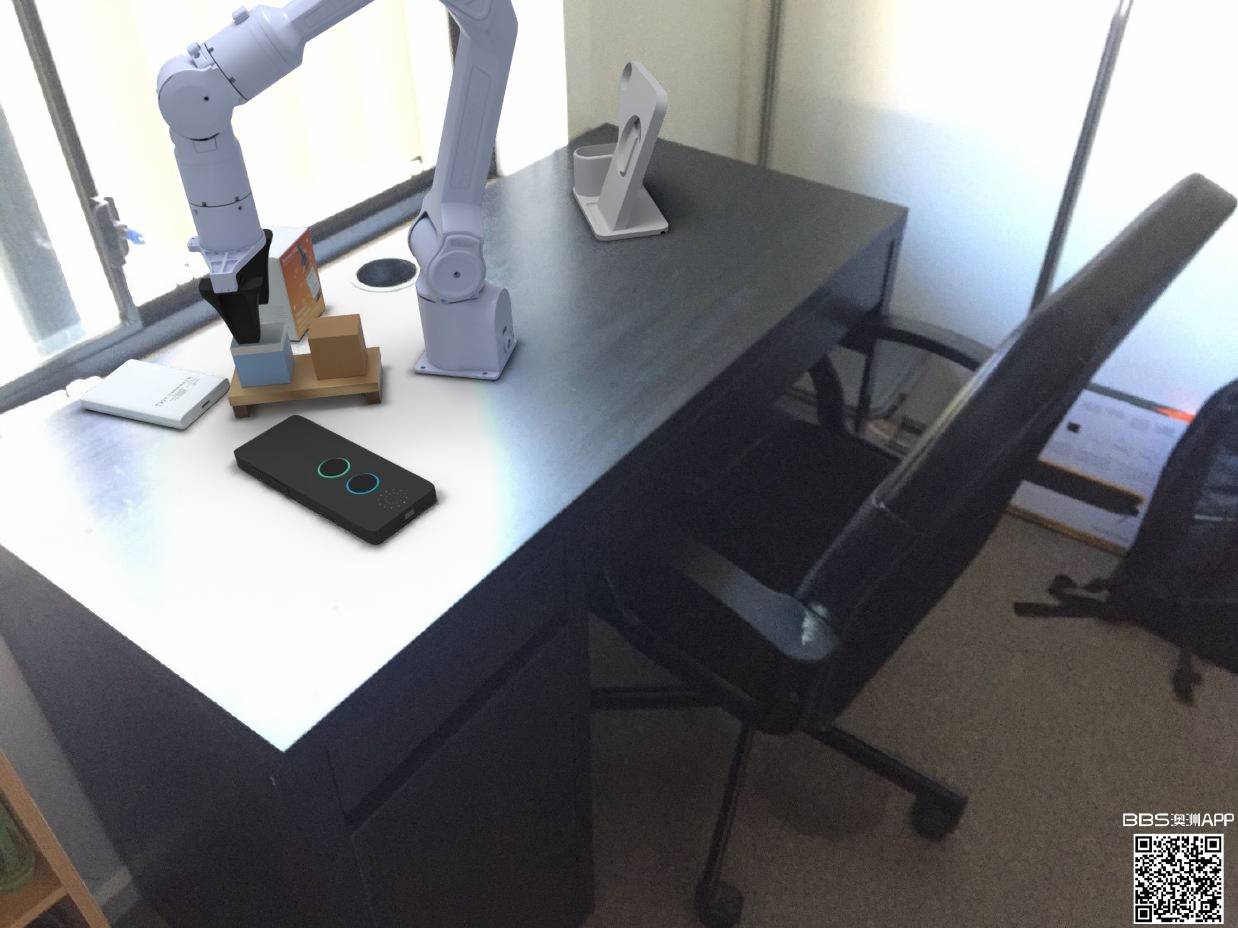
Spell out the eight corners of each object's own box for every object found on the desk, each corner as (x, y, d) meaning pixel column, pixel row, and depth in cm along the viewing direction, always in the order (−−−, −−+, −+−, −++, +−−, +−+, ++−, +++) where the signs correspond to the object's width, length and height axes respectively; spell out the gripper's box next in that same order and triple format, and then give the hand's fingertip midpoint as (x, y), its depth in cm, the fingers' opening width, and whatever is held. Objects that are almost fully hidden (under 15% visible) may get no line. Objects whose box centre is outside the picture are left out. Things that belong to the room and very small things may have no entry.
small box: (298, 342, 120) (278, 258, 113) (253, 338, 121) (230, 255, 114) (327, 308, 126) (310, 226, 119) (284, 304, 127) (264, 223, 120)
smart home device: (371, 533, 91) (228, 451, 101) (375, 547, 92) (232, 466, 102) (439, 483, 96) (296, 410, 106) (441, 498, 97) (300, 424, 107)
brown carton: (367, 354, 112) (359, 313, 109) (366, 375, 109) (357, 334, 106) (319, 358, 112) (310, 317, 109) (317, 380, 108) (307, 338, 105)
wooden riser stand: (383, 368, 115) (379, 346, 113) (382, 404, 110) (377, 381, 108) (242, 382, 114) (236, 360, 112) (234, 419, 108) (227, 396, 106)
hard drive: (135, 369, 116) (231, 388, 113) (83, 410, 110) (183, 431, 107) (131, 357, 115) (227, 375, 112) (78, 398, 109) (178, 418, 106)
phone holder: (570, 189, 151) (564, 61, 140) (639, 181, 153) (637, 54, 142) (597, 242, 138) (593, 105, 127) (672, 232, 140) (673, 96, 129)
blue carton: (295, 361, 111) (285, 321, 108) (291, 383, 108) (281, 343, 105) (246, 366, 111) (235, 326, 108) (241, 388, 108) (229, 348, 105)
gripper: (188, 167, 102) (223, 291, 111) (159, 232, 91) (201, 364, 99) (262, 161, 103) (291, 285, 112) (243, 225, 92) (277, 357, 100)
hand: (254, 322), depth 106 cm, fingers open, 7 cm apart
